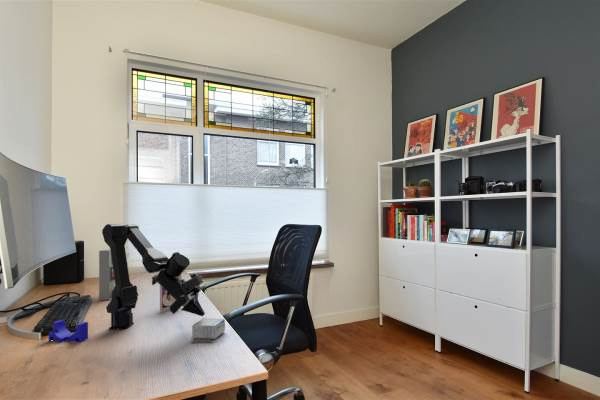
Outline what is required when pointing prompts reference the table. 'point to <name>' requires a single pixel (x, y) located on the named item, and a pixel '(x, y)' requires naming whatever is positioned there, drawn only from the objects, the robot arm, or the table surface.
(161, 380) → the table surface
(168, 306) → the greeting card
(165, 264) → the robot arm
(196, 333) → the medicine box
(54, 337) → the blue notched block
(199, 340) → the pad
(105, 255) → the tall grey pillar
